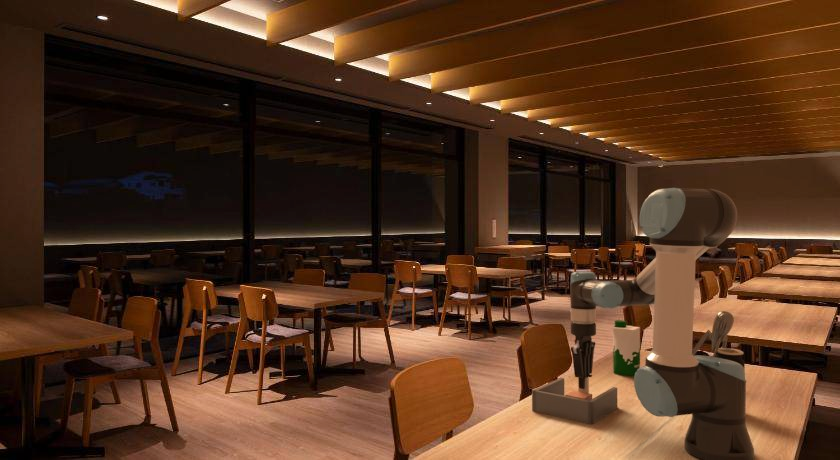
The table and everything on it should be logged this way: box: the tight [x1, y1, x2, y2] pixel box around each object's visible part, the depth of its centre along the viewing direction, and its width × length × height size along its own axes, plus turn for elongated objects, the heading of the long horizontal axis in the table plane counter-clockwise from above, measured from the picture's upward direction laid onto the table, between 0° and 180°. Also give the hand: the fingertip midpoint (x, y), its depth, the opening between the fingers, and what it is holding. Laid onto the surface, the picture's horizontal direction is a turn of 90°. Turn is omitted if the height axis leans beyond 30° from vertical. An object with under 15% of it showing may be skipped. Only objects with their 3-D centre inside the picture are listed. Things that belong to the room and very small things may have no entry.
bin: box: [531, 377, 618, 425], centre depth 168 cm, size 19×18×6 cm
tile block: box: [564, 390, 593, 401], centre depth 170 cm, size 6×6×4 cm
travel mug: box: [716, 347, 746, 371], centre depth 165 cm, size 8×8×18 cm
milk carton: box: [611, 319, 641, 378], centre depth 207 cm, size 9×9×20 cm
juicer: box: [692, 310, 735, 357], centre depth 168 cm, size 10×11×30 cm
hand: (583, 398), depth 173 cm, fingers closed
